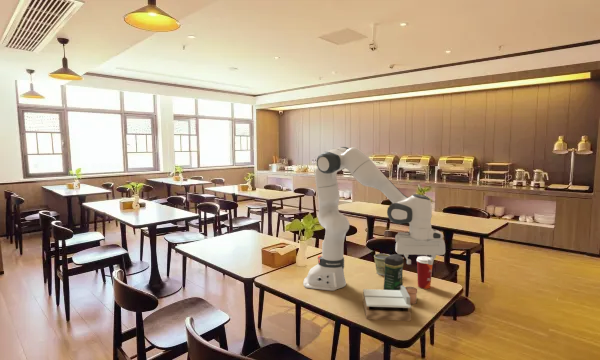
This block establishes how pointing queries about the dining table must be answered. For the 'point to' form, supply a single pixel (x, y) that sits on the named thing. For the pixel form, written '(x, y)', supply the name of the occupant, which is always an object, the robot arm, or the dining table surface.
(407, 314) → the wooden box
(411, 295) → the terracotta pot
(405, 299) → the lid
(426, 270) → the coffee cup
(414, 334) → the dining table surface
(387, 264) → the coffee jar
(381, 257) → the ceramic cup
